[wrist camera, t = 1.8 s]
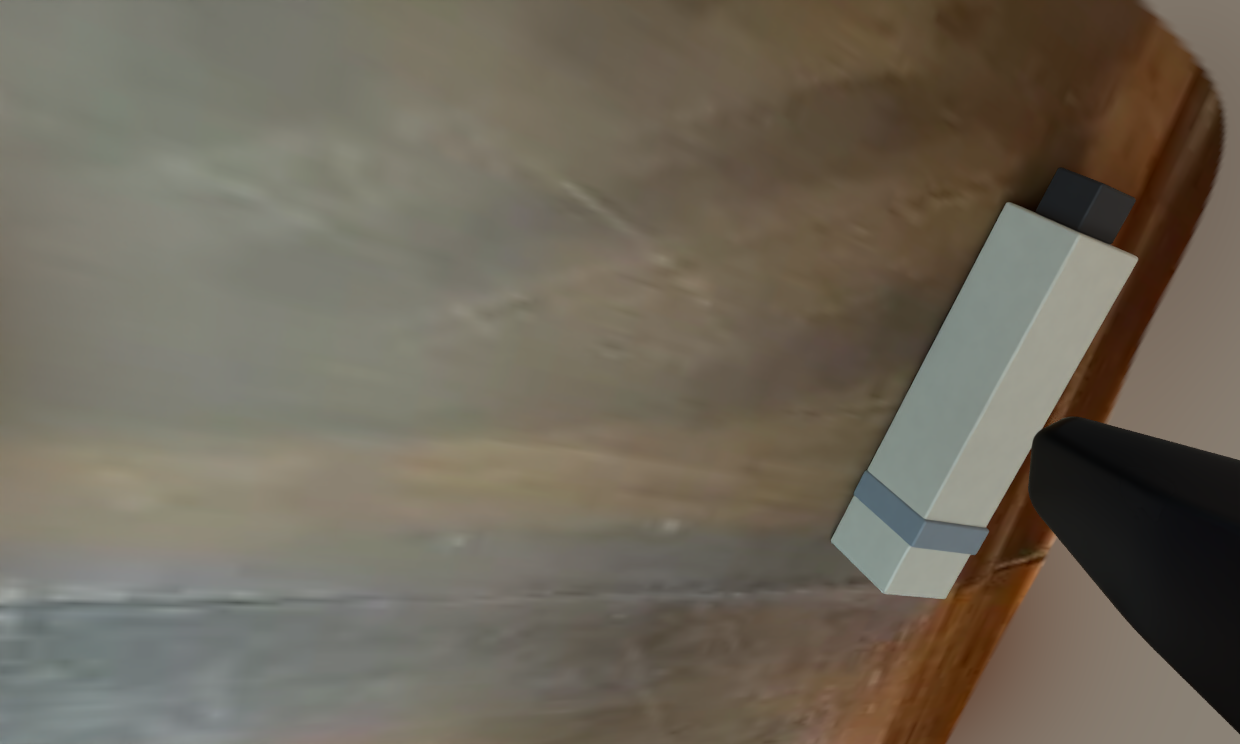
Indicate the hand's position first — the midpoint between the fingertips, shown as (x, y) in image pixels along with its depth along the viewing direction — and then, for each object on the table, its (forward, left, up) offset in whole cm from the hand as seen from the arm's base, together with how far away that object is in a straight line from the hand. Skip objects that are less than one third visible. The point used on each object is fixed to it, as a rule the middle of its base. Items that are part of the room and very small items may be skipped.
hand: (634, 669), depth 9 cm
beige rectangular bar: (-16, 0, -12) cm, 20 cm away
